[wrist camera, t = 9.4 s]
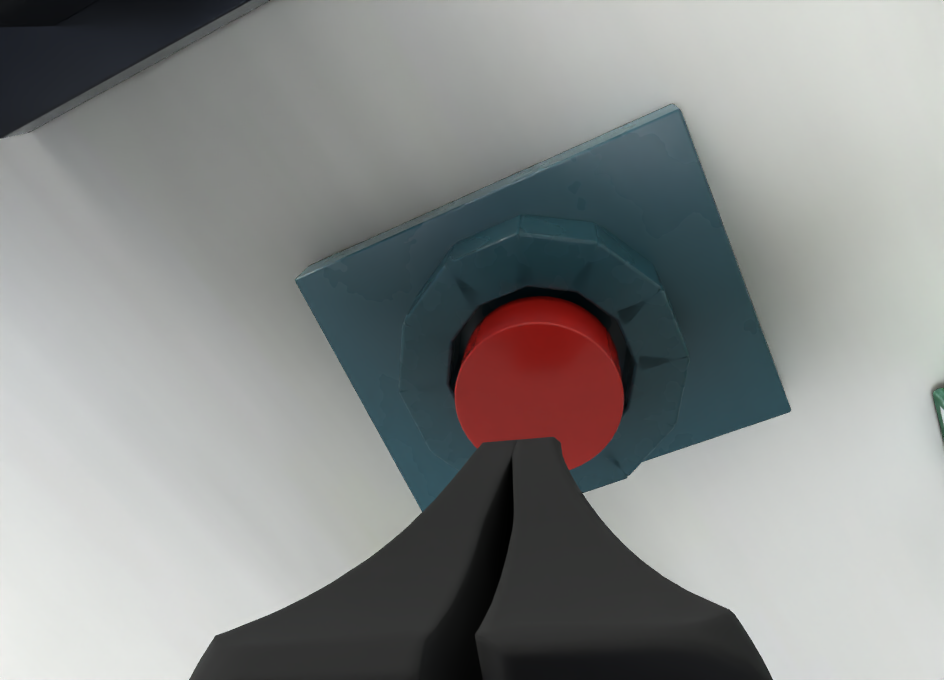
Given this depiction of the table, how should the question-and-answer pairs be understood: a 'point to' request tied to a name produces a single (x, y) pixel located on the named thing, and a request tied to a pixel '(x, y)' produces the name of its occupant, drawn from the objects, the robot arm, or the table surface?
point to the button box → (562, 276)
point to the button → (541, 378)
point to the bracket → (90, 48)
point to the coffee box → (940, 406)
